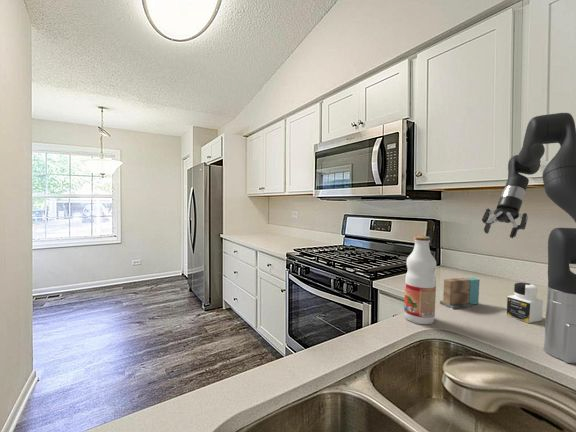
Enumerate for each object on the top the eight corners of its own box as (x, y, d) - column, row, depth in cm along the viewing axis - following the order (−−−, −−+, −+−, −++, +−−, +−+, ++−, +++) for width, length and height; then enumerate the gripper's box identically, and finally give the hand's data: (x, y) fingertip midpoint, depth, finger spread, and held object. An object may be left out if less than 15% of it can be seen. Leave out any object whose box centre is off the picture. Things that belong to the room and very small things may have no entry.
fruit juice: (435, 327, 91) (439, 239, 90) (403, 321, 95) (406, 237, 93) (433, 316, 100) (437, 236, 98) (404, 312, 103) (407, 234, 102)
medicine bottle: (505, 315, 102) (507, 282, 101) (519, 313, 104) (521, 280, 104) (528, 323, 95) (531, 287, 95) (542, 320, 98) (544, 285, 97)
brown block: (458, 301, 116) (460, 276, 115) (472, 306, 110) (473, 280, 109) (439, 303, 113) (441, 278, 112) (452, 309, 107) (453, 282, 107)
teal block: (471, 301, 116) (472, 277, 115) (478, 303, 113) (479, 279, 112) (462, 301, 114) (463, 278, 114) (469, 304, 111) (470, 280, 111)
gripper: (488, 193, 121) (476, 227, 119) (531, 197, 110) (518, 235, 107) (493, 201, 126) (480, 235, 123) (534, 205, 114) (522, 242, 112)
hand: (498, 235), depth 115 cm, fingers open, 8 cm apart
